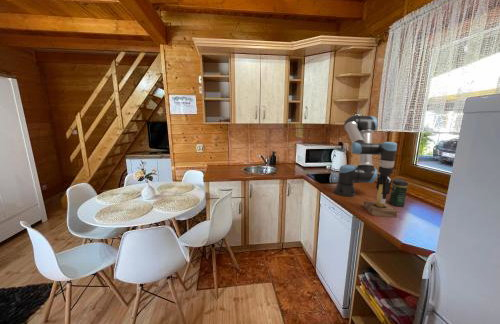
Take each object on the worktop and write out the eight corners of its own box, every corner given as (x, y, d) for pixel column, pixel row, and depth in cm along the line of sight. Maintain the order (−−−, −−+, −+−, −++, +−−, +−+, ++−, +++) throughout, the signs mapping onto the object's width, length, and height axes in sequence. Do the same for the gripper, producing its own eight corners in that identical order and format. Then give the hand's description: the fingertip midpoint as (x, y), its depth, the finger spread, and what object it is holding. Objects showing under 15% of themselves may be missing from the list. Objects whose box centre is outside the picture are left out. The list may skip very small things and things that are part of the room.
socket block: (363, 206, 144) (364, 201, 143) (384, 208, 142) (385, 202, 141) (372, 215, 130) (373, 209, 130) (396, 217, 129) (397, 211, 128)
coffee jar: (405, 207, 144) (410, 181, 140) (393, 206, 146) (397, 180, 142) (399, 202, 153) (404, 178, 149) (387, 200, 155) (391, 177, 151)
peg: (374, 204, 138) (377, 184, 135) (381, 204, 137) (385, 184, 134) (377, 206, 133) (381, 186, 131) (385, 207, 133) (388, 186, 130)
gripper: (373, 163, 139) (368, 196, 144) (386, 169, 122) (380, 206, 127) (385, 164, 138) (380, 197, 143) (400, 170, 121) (394, 207, 126)
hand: (380, 201), depth 135 cm, fingers closed on peg, 4 cm apart
